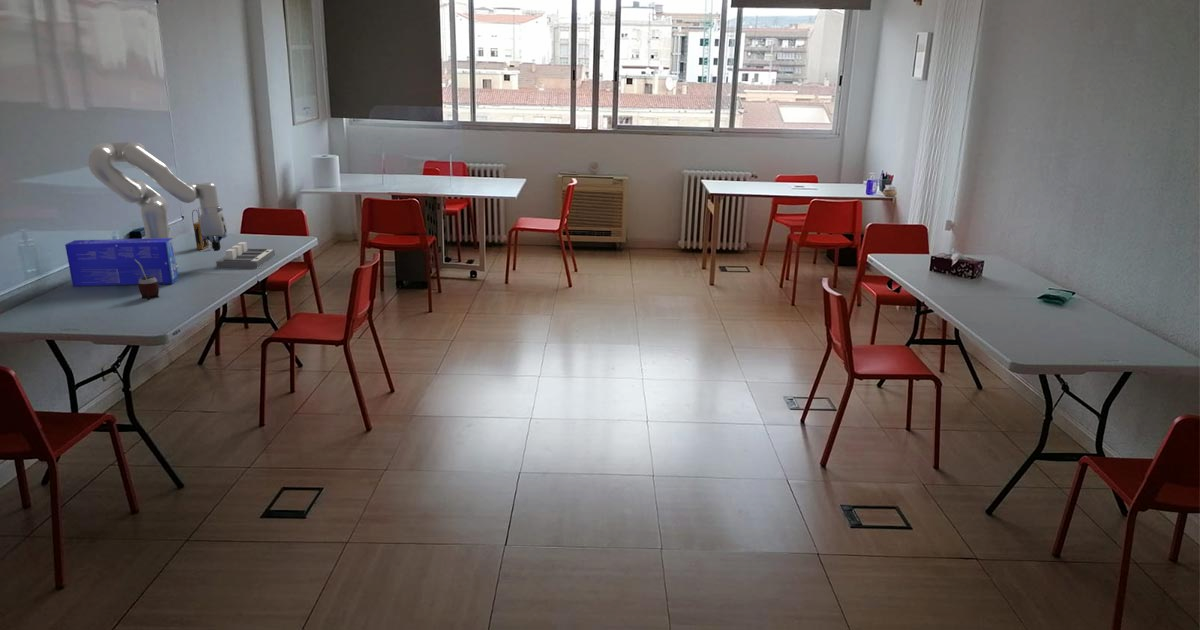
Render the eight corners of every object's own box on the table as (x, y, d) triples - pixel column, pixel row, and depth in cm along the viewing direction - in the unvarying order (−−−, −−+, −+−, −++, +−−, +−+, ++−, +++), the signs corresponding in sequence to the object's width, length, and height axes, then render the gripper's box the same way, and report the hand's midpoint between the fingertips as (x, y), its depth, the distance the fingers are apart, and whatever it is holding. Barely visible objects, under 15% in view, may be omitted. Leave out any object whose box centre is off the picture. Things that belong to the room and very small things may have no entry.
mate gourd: (158, 299, 321) (152, 262, 317) (135, 300, 319) (129, 263, 314) (162, 294, 328) (156, 258, 323) (140, 295, 326) (134, 259, 321)
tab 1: (233, 259, 371) (232, 250, 369) (226, 259, 371) (225, 250, 369) (236, 257, 375) (235, 248, 373) (229, 257, 374) (228, 248, 373)
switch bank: (257, 268, 369) (256, 260, 368) (216, 267, 369) (215, 260, 367) (274, 255, 392) (274, 248, 391) (236, 255, 391) (235, 247, 390)
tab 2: (244, 252, 384) (243, 244, 383) (238, 252, 384) (237, 243, 383) (247, 250, 388) (246, 242, 387) (241, 250, 388) (240, 242, 386)
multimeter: (213, 252, 397) (208, 211, 390) (193, 251, 397) (187, 211, 391) (227, 245, 411) (222, 206, 404) (207, 244, 411) (202, 205, 405)
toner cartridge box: (179, 279, 349) (173, 237, 344) (172, 285, 341) (166, 242, 336) (81, 281, 343) (73, 238, 338) (72, 287, 336) (64, 243, 330)
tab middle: (238, 255, 377) (237, 247, 376) (232, 255, 377) (231, 247, 376) (242, 253, 381) (241, 245, 380) (235, 253, 381) (234, 245, 380)
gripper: (230, 208, 369) (236, 248, 375) (197, 209, 369) (203, 248, 375) (224, 212, 362) (230, 251, 368) (189, 212, 362) (196, 252, 367)
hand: (217, 250), depth 371 cm, fingers closed
